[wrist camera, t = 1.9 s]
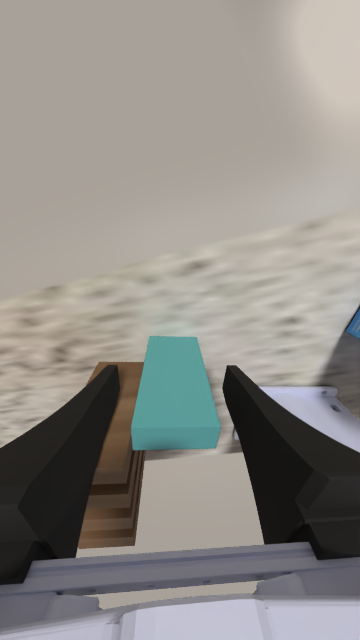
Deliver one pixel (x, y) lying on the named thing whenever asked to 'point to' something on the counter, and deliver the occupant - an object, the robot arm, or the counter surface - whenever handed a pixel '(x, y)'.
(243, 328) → the counter surface
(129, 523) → the domino
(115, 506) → the domino
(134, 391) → the domino
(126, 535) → the domino
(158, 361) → the domino
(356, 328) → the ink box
